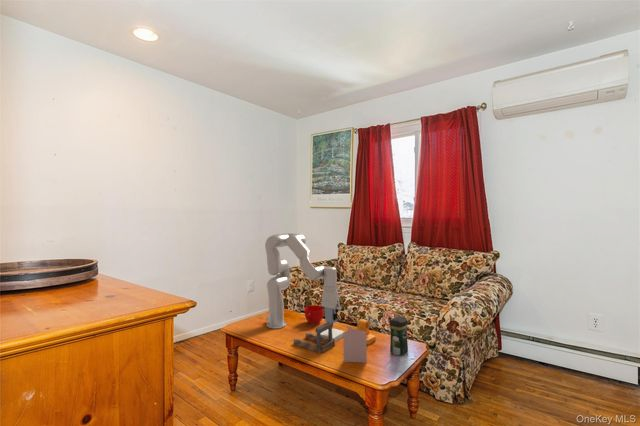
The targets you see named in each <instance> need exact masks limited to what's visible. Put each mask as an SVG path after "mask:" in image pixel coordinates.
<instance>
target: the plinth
mask: <svg viewBox="0 0 640 426" xmlns="http://www.w3.org/2000/svg"><path fill="white" fill-rule="evenodd" d="M343 332H346V331H344V330H341V329H336V328H333V327H332V340H335V342H337V341H339V340H340V339H343ZM321 336H322V337H325V338H328V329H327V330H325V331H323V332H322V333H321Z"/></svg>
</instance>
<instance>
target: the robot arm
mask: <svg viewBox="0 0 640 426" xmlns="http://www.w3.org/2000/svg"><path fill="white" fill-rule="evenodd" d="M306 240H307V239H306V237H305V236H304V234H300V233H287V232H285V233H277V234H272V235H270V236H269V237H267V238H266V240H265V243H264V244H265V245H264V246H265V248H264V249H265V253H266V261H267V262H266V263H267V271H268V274H269V275H271V276H274V277H271V278H270V279H269V280H268V281H267V283H266V289H267V294H268V315H267V316H266V318H265V320H266V321H267V322H266V327H267V328H269V329H273V330H274V329H276V330H277V329H281V328H284V327H285V326H287V321H285V320H284V319H285V317H284V313H285V311H284V295H283V293H282V291H283V290H285V289H288V287H290V285H291V273H290V272H291V271H290V266H289V263H288V261H287V260H286V259H285V258H281V255H280V251H279V249H278V248H282V247H287V248H288V249H290V250H291V252H292V253H293V254H294V255H295V257H296V258H297V259H298V260H299V261H298V262H299V265H300V268H301V271H302V272H303V273H304V275H305V276H306V277H307V278H308V279H309V280H311V281H318V280H320V279H323V285H322V288H324V289H323V290H322V294H321V303H320V306H322V307H323V309H324V312H325V307H326V308H331V309H333V311H334V313H333V320H336V319H337V320H338V313H339V311H341V310H342V309H343V307H342V305H341V304H340V295H339V291H338V279H337V277H338V276H337V268H336V267H335V266H326V265H323V264H322V265H317V266H314V265H313V264H312V262H311V261H310V259H309V255H310V254H311V251H310V249H309V248H308V247H307V246H306ZM335 310H336V311H335Z"/></svg>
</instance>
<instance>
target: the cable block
mask: <svg viewBox="0 0 640 426" xmlns="http://www.w3.org/2000/svg"><path fill="white" fill-rule="evenodd" d="M335 311H336V310H335ZM333 313H334V311H333V309H331V308H326V307H325V311H324V317H325V318H324V319H325V320H324V321H325V322H324V323H327V322H331V323H333V324H334V323H336V322H338V318H337V319H336V320H333Z"/></svg>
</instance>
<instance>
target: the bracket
mask: <svg viewBox="0 0 640 426" xmlns="http://www.w3.org/2000/svg"><path fill="white" fill-rule="evenodd" d="M370 326H371V323H370V321H369V320H366V319H362V318H361V319H359V320H358V321H357V325H356V329H357V330H360V331H363V332H366V341H367V346H369V345H370V344H373V343H374V342H375V341H376V339H377V335H375V334H373V333H370V330H369V329H370Z"/></svg>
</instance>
